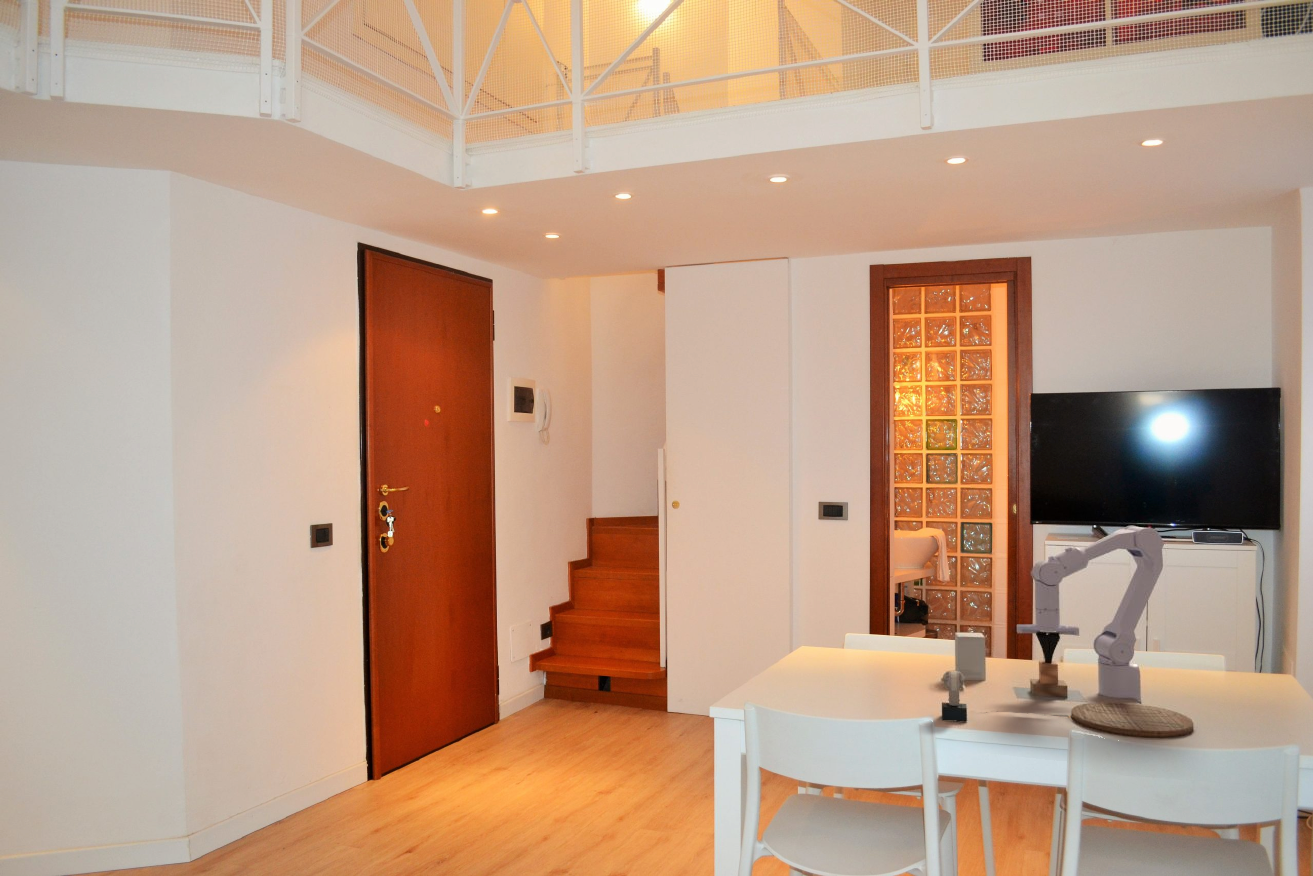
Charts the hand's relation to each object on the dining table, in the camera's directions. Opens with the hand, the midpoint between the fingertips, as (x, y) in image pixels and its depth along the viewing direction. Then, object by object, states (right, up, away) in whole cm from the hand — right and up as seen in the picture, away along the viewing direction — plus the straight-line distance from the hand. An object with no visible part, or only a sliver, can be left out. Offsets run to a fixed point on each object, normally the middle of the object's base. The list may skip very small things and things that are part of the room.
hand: (1048, 662), depth 243 cm
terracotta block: (0, -5, 0) cm, 5 cm away
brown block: (0, -8, 0) cm, 8 cm away
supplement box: (-13, -10, +20) cm, 26 cm away
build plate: (0, -9, 0) cm, 9 cm away
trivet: (+9, -9, -23) cm, 27 cm away
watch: (-30, -9, -19) cm, 37 cm away
